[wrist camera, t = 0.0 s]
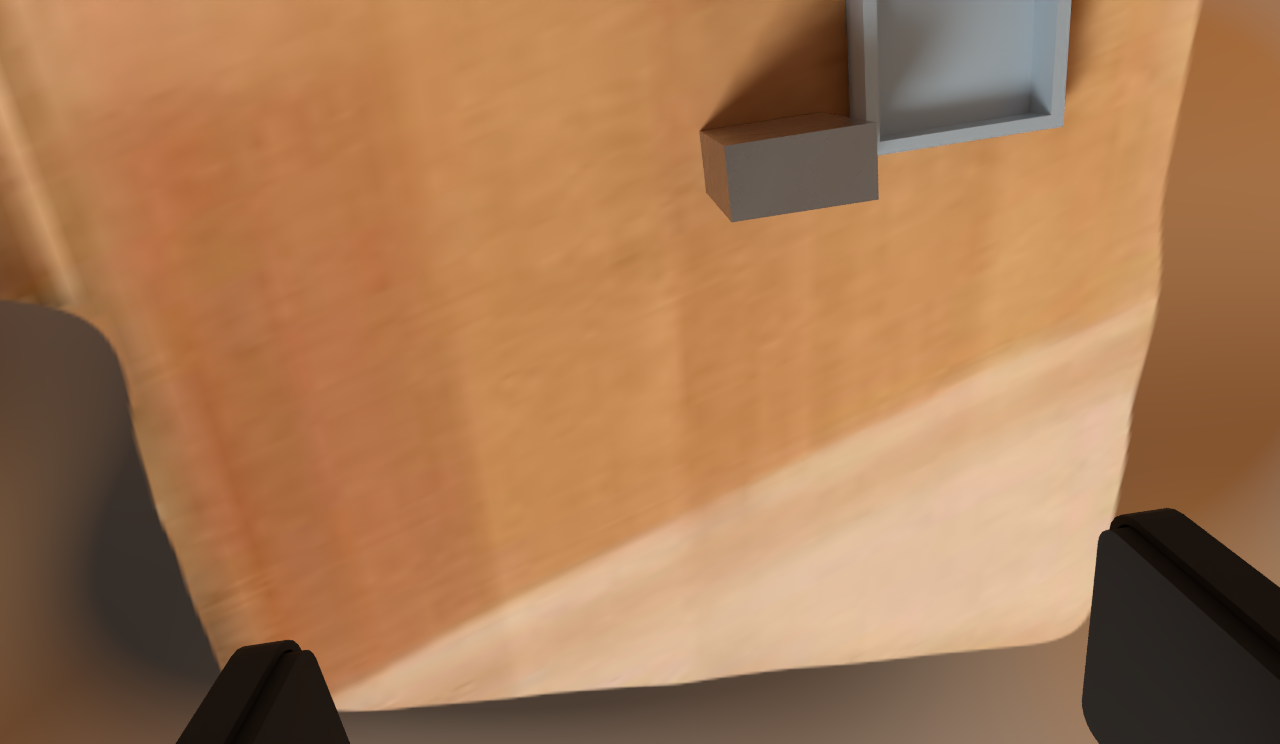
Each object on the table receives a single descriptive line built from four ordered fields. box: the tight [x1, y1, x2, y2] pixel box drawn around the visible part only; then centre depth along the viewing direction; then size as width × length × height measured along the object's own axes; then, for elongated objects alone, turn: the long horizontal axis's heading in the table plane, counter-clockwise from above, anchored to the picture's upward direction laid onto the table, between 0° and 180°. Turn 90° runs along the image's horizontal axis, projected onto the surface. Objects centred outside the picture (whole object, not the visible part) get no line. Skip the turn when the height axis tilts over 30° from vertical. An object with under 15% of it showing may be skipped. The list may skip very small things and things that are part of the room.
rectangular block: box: [700, 112, 879, 222], centre depth 33 cm, size 3×6×8 cm, turn 98°
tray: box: [845, 0, 1071, 155], centre depth 34 cm, size 9×9×2 cm
